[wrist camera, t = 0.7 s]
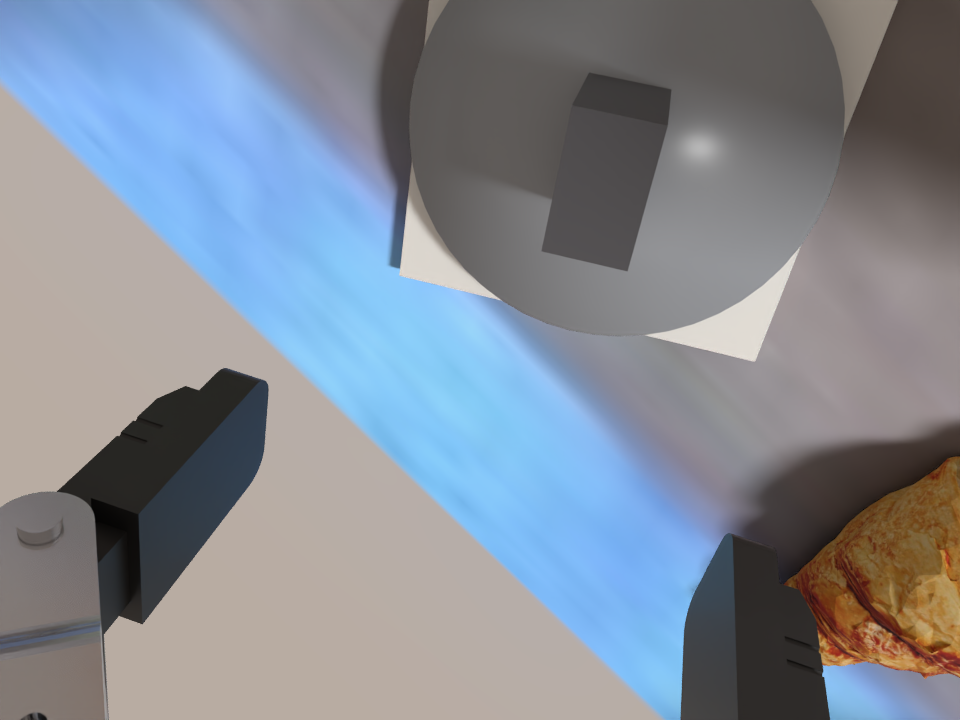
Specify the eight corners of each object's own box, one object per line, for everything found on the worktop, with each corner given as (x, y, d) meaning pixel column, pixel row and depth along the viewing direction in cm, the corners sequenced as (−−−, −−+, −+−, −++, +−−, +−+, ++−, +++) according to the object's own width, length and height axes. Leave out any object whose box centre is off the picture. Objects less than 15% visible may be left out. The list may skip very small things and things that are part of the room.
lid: (917, -49, 26) (972, -31, 21) (754, 361, 35) (765, 446, 30) (444, -136, 28) (387, -139, 23) (399, 275, 37) (350, 341, 31)
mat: (913, -50, 27) (917, -49, 26) (754, 354, 35) (754, 361, 35) (448, -136, 29) (443, -136, 28) (403, 270, 37) (399, 275, 37)
